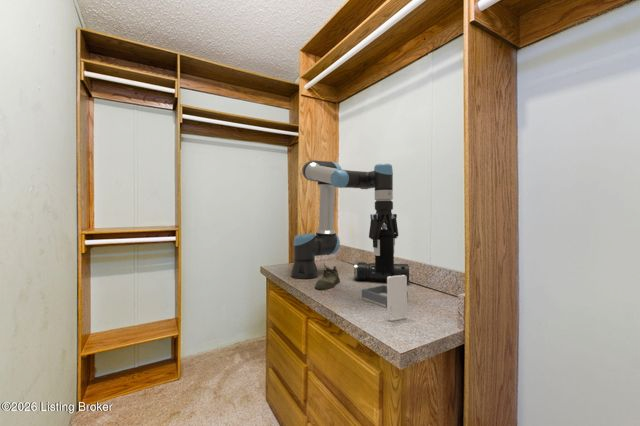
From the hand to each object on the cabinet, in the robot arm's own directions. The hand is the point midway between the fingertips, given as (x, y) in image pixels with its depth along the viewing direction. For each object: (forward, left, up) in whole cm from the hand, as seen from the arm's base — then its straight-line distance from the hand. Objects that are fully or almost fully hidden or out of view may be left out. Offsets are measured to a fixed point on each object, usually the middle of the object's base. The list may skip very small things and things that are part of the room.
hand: (384, 254), depth 119 cm
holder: (0, 0, -19) cm, 19 cm away
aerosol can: (0, 0, -7) cm, 7 cm away
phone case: (+17, -12, -20) cm, 29 cm away
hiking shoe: (-31, -6, -20) cm, 37 cm away
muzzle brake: (-22, +22, -20) cm, 37 cm away
